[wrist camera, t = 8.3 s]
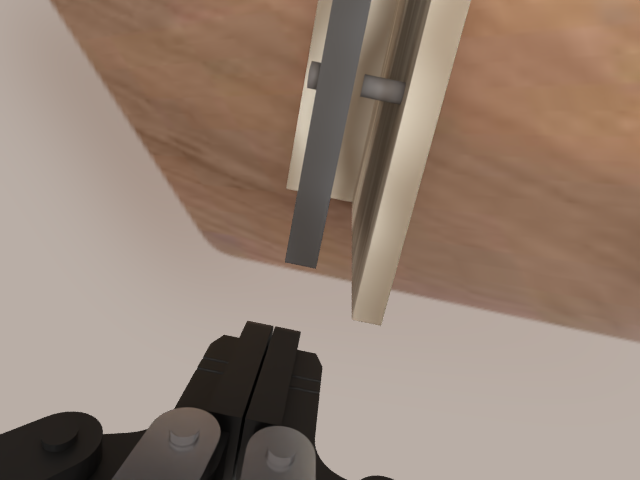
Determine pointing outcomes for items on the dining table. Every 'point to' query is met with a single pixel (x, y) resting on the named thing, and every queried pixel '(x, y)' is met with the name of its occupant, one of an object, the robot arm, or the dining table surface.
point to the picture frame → (326, 127)
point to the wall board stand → (385, 131)
